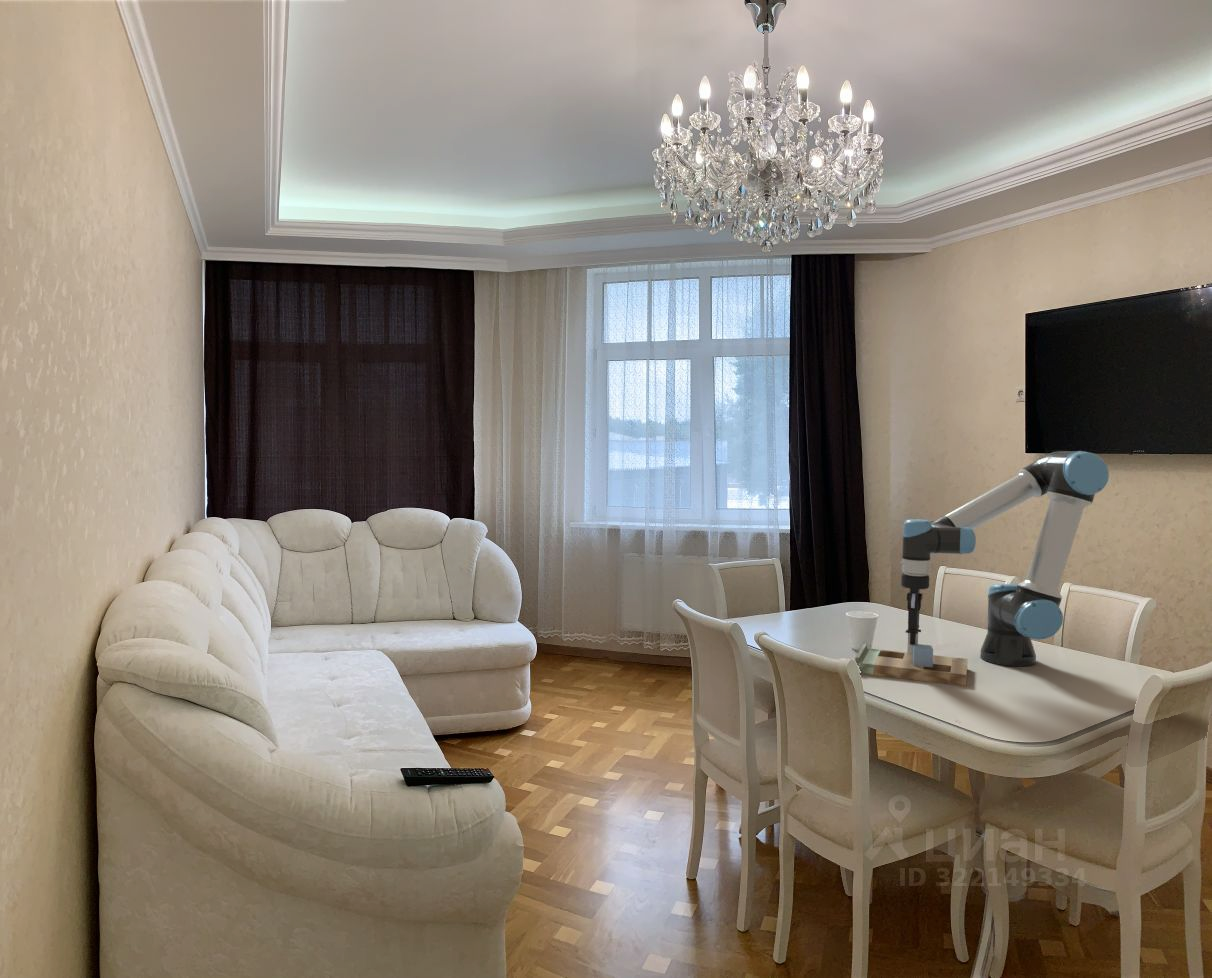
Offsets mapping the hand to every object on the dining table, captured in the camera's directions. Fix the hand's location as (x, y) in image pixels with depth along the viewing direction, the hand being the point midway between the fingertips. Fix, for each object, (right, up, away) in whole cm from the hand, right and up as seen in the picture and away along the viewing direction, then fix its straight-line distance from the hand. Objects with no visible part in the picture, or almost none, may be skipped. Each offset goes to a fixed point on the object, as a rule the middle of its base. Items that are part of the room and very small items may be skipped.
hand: (912, 654), depth 237 cm
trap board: (0, -5, 0) cm, 5 cm away
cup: (-7, -3, +25) cm, 26 cm away
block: (+1, -2, -4) cm, 4 cm away
